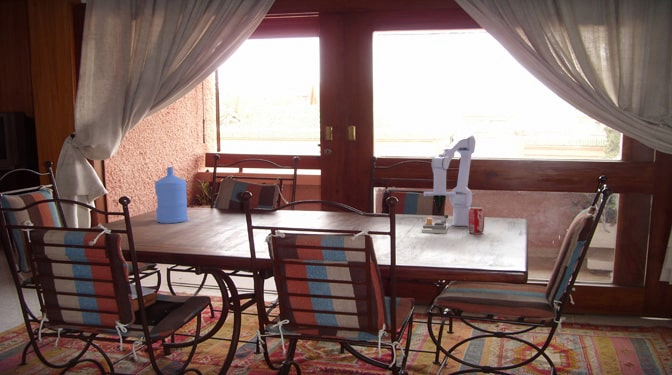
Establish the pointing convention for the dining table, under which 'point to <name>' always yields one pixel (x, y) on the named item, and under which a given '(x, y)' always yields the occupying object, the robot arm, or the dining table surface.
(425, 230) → the panel
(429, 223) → the orange flat-faced block
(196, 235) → the dining table surface
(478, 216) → the soda can
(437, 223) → the button
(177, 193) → the water jug
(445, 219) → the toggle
